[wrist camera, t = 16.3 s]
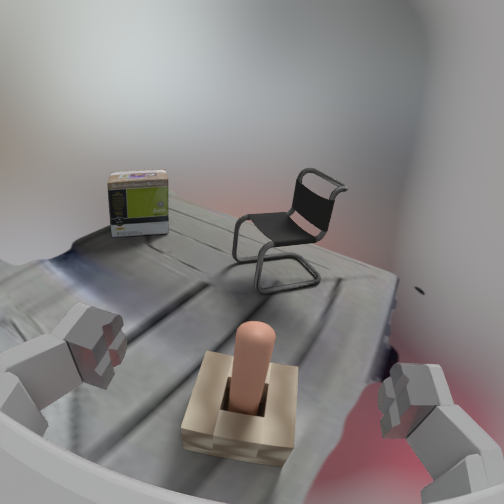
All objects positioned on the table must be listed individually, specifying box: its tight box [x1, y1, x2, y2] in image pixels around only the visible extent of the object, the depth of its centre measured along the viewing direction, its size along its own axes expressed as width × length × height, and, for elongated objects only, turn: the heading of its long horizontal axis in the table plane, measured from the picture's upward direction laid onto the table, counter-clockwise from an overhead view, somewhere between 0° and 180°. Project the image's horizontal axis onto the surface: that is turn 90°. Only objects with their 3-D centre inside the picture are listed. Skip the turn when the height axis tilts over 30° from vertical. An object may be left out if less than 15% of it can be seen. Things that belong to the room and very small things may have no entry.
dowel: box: [228, 321, 276, 416], centre depth 32 cm, size 4×4×15 cm
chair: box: [232, 168, 348, 294], centre depth 63 cm, size 13×17×22 cm
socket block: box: [181, 351, 298, 467], centre depth 35 cm, size 12×12×6 cm
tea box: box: [108, 169, 169, 237], centre depth 76 cm, size 15×10×15 cm, turn 109°
